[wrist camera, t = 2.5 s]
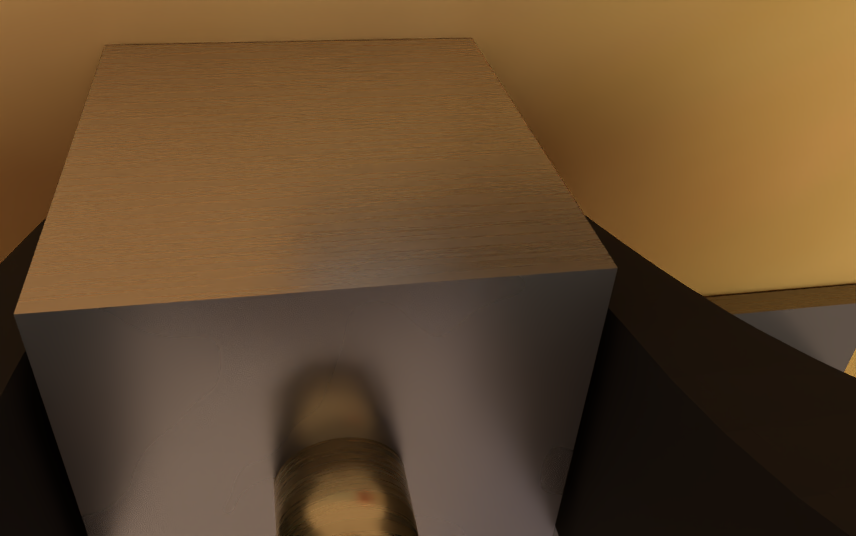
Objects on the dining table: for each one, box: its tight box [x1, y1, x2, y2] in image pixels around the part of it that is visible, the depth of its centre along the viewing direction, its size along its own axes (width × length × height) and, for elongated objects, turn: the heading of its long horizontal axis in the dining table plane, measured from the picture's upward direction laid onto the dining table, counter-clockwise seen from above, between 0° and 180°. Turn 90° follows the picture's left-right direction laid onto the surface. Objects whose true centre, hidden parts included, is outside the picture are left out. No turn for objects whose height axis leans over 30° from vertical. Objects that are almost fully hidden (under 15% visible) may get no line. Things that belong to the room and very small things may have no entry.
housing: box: [14, 38, 618, 536], centre depth 9 cm, size 4×4×6 cm
